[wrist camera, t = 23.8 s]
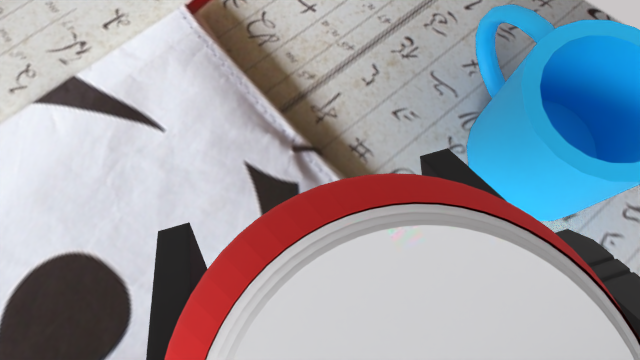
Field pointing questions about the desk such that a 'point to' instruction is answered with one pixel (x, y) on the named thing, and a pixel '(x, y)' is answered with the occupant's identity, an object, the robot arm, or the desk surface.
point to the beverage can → (400, 282)
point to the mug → (559, 114)
